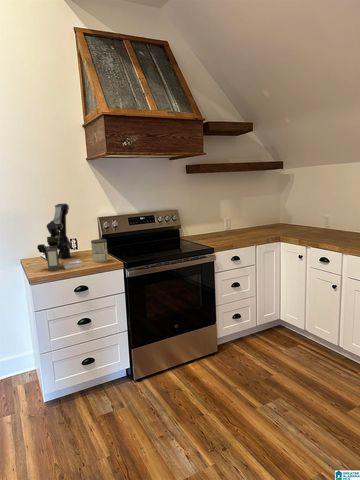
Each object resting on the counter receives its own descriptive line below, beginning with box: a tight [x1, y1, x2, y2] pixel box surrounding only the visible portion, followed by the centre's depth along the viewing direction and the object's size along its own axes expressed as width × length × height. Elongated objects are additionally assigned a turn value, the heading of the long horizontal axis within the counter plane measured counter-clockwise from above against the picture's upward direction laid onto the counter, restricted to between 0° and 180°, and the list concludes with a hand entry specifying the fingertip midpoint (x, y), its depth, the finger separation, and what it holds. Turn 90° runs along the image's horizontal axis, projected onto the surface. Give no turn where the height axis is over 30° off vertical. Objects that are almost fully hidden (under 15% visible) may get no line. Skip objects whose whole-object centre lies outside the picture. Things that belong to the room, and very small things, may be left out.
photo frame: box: [46, 247, 60, 272], centre depth 221 cm, size 4×6×14 cm, turn 107°
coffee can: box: [90, 238, 109, 263], centre depth 239 cm, size 10×10×14 cm
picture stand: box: [62, 258, 84, 270], centre depth 228 cm, size 10×11×3 cm
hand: (52, 259), depth 220 cm, fingers closed on photo frame, 7 cm apart
